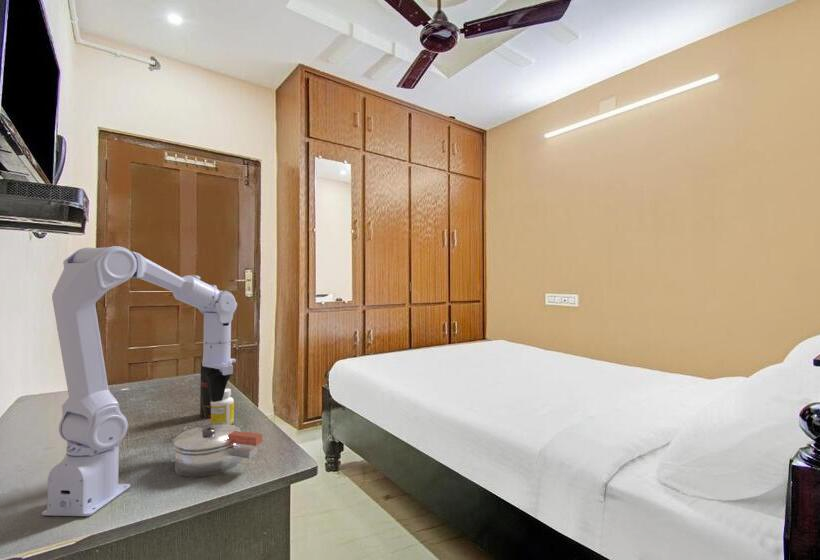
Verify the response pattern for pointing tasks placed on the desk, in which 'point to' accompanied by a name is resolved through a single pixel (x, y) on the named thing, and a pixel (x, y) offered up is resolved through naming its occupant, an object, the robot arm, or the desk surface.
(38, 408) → the desk surface
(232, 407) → the supplement bottle
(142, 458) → the desk surface
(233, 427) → the lid
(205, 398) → the deodorant
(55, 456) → the desk surface
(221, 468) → the pot
